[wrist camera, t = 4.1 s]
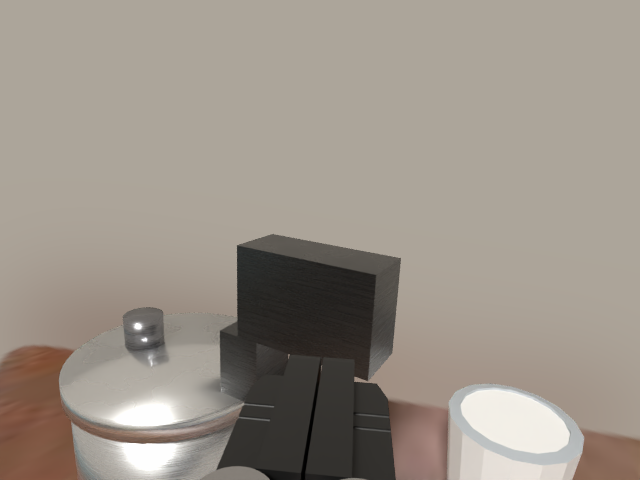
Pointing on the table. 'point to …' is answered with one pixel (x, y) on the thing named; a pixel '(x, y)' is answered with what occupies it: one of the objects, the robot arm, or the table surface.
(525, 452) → the white cylinder
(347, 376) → the robot arm
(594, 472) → the table surface
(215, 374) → the lid
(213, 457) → the pot
